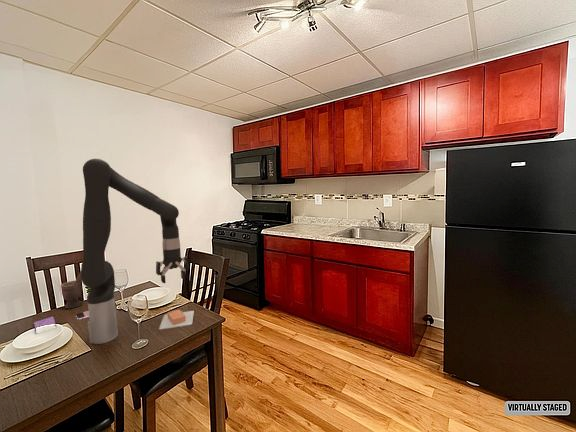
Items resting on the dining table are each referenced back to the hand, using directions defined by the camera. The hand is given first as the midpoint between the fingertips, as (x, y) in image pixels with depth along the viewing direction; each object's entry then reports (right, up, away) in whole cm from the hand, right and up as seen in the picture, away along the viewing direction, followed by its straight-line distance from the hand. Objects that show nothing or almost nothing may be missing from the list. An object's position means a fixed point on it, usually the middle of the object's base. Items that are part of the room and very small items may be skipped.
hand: (173, 280), depth 127 cm
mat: (+1, -19, +1) cm, 19 cm away
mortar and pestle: (-62, -19, +21) cm, 68 cm away
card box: (-2, -17, +4) cm, 18 cm away
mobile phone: (-46, -20, +12) cm, 52 cm away
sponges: (-60, -22, -1) cm, 64 cm away
